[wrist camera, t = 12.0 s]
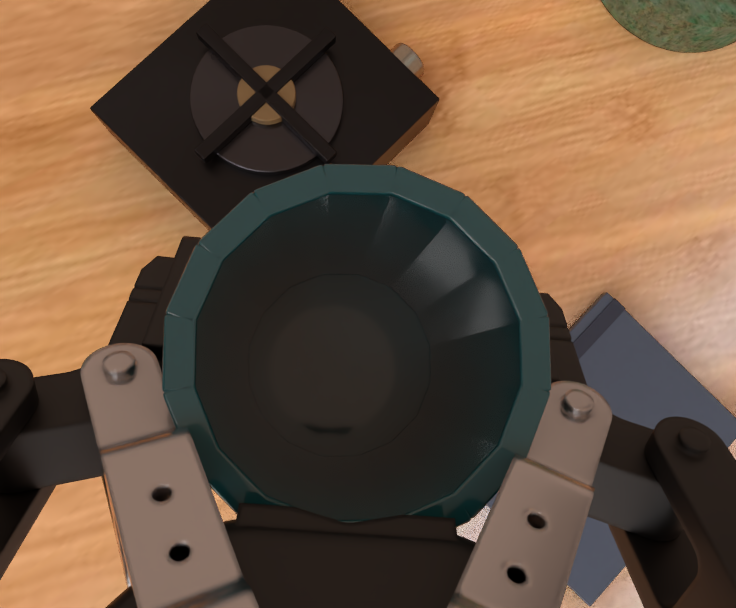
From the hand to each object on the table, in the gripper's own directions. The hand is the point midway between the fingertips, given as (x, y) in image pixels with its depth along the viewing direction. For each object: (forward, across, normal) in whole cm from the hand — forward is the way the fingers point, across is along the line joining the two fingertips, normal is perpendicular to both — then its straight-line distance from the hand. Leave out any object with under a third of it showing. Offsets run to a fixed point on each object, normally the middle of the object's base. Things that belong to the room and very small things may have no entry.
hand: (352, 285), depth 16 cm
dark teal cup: (+2, 0, +4) cm, 5 cm away
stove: (+18, +4, +5) cm, 19 cm away
